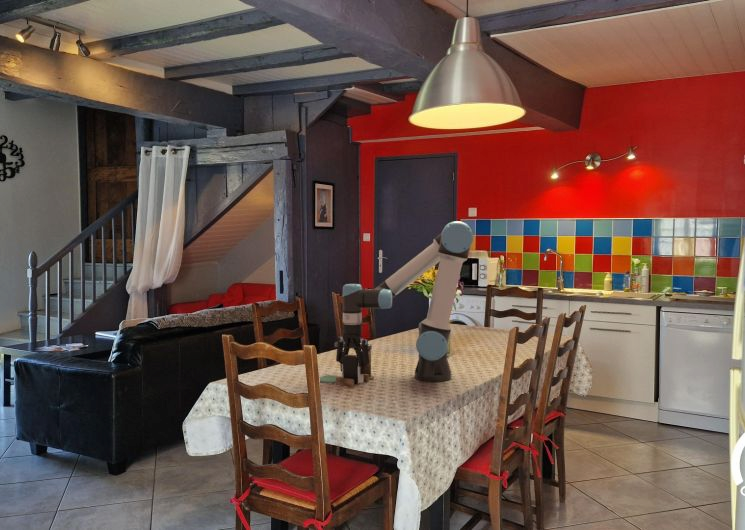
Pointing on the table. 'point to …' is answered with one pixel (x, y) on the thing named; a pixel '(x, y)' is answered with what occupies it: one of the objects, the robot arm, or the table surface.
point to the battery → (351, 368)
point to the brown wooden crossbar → (357, 346)
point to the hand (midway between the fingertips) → (352, 380)
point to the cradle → (350, 382)
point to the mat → (328, 379)
